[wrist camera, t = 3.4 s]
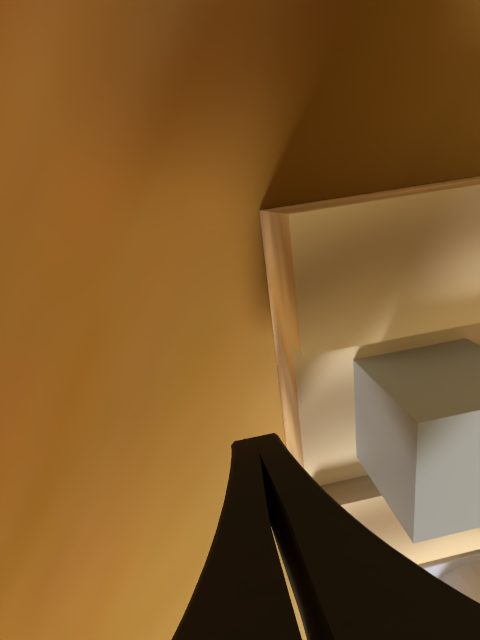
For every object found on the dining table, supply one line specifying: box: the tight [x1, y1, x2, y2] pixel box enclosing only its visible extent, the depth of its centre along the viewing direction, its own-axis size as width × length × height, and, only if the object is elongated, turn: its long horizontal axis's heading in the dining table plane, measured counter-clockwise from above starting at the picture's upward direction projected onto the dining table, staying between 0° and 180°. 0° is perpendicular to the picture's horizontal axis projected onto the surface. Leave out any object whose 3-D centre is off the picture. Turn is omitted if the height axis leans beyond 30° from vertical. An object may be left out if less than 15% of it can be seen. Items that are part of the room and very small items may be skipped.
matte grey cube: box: [353, 338, 480, 544], centre depth 11 cm, size 4×4×4 cm
